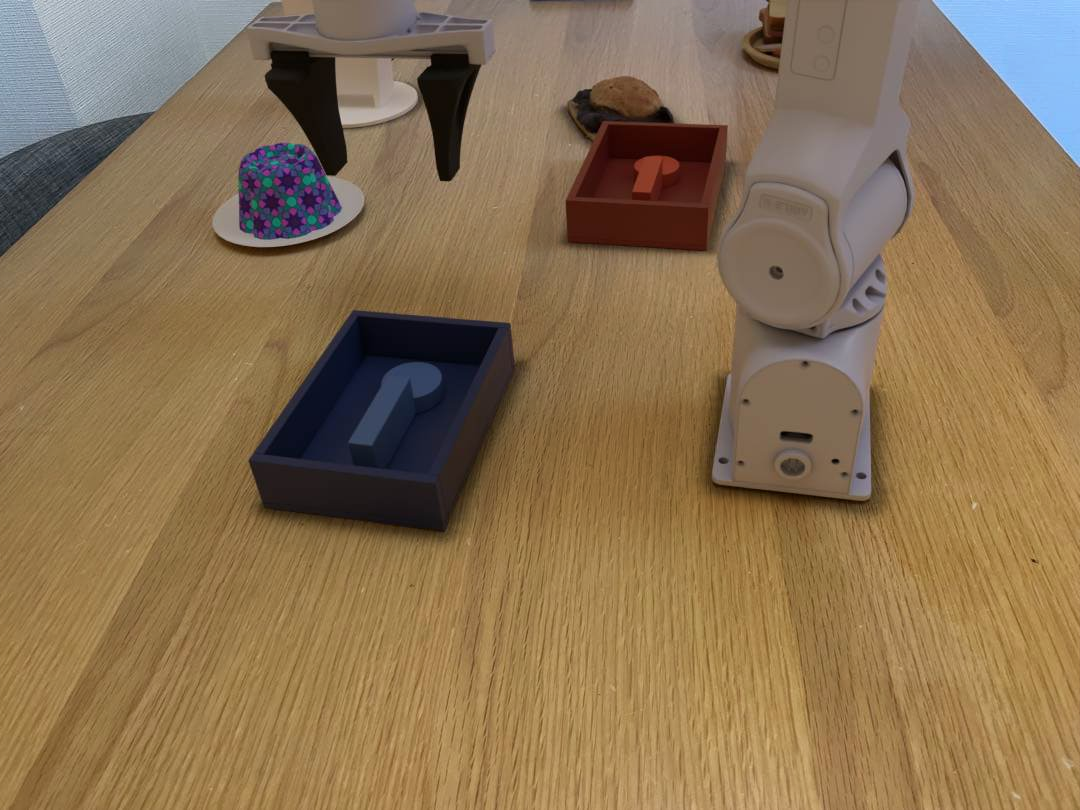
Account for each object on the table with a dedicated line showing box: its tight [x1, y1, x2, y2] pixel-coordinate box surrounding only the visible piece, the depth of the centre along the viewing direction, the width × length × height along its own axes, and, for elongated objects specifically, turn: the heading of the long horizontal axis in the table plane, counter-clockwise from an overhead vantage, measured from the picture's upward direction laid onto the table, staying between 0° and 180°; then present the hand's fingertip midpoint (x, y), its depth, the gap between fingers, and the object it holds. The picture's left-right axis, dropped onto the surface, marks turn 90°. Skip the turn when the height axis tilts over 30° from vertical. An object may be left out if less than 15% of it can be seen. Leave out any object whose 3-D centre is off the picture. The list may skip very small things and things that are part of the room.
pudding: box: [211, 142, 365, 248], centre depth 77 cm, size 12×12×5 cm
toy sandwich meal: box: [741, 0, 787, 71], centre depth 99 cm, size 12×14×5 cm
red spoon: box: [632, 156, 680, 201], centre depth 76 cm, size 9×4×3 cm, turn 166°
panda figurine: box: [280, 0, 419, 129], centre depth 92 cm, size 12×11×15 cm
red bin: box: [565, 121, 729, 251], centre depth 76 cm, size 14×10×3 cm
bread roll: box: [566, 75, 675, 142], centre depth 88 cm, size 11×8×4 cm
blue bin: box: [247, 309, 516, 532], centre depth 56 cm, size 14×10×3 cm
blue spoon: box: [348, 362, 444, 469], centre depth 56 cm, size 9×4×3 cm, turn 166°
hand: (392, 171), depth 63 cm, fingers open, 7 cm apart
